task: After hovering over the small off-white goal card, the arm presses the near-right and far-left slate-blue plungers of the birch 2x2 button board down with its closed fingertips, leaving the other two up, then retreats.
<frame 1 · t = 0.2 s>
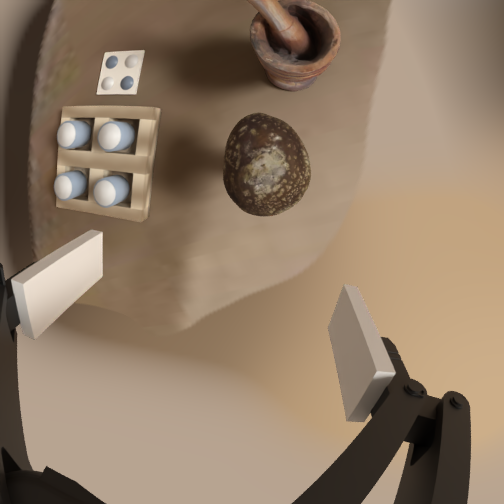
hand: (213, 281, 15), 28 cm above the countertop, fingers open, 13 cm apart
mortar and pestle: (280, 60, 35), on the countertop
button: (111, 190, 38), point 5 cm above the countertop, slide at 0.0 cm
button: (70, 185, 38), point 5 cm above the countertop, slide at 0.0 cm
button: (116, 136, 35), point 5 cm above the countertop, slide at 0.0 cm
goal card: (120, 72, 36), on the countertop
mushroom: (269, 159, 40), on the countertop
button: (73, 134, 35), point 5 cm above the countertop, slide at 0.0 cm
board: (107, 158, 41), on the countertop
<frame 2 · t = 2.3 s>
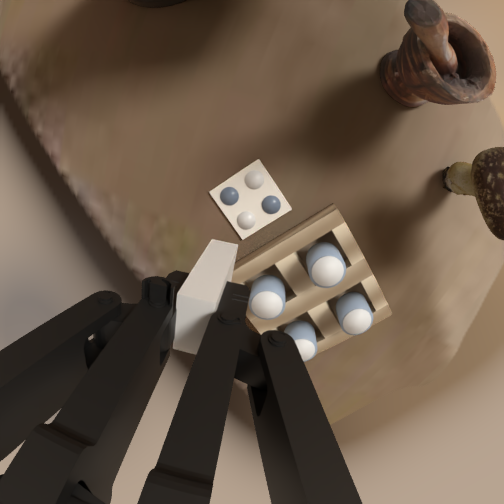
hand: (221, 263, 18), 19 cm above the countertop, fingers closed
mortar and pestle: (394, 80, 29), on the countertop
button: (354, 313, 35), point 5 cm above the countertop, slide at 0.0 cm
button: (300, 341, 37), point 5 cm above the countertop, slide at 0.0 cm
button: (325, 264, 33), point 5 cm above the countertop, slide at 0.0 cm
goal card: (250, 199, 36), on the countertop
mushroom: (450, 175, 32), on the countertop
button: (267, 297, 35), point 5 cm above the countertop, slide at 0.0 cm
board: (309, 287, 39), on the countertop
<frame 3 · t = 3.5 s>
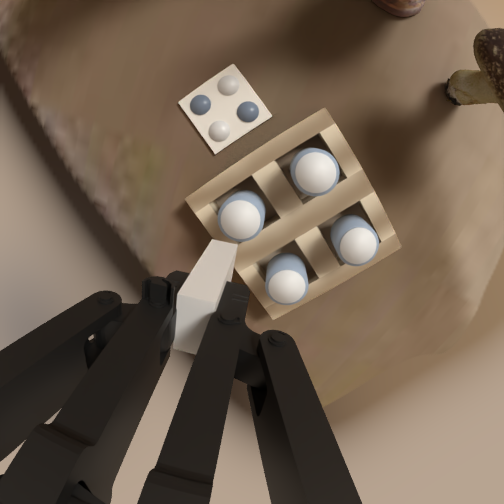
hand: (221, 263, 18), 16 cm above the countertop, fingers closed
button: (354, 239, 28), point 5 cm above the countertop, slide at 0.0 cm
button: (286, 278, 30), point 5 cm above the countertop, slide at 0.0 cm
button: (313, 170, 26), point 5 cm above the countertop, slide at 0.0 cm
goal card: (224, 108, 29), on the countertop
mushroom: (453, 90, 25), on the countertop
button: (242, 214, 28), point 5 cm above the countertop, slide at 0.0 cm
board: (297, 214, 32), on the countertop
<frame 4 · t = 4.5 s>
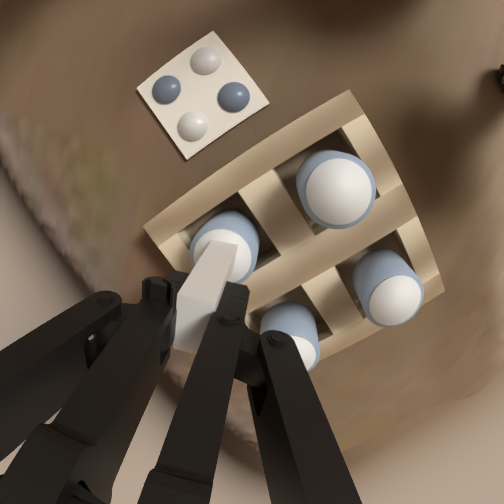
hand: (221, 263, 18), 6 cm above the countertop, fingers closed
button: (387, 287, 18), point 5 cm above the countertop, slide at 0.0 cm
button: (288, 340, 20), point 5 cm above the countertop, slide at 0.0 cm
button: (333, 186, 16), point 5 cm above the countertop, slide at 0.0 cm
goal card: (200, 93, 19), on the countertop
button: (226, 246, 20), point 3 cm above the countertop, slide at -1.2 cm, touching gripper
board: (304, 245, 23), on the countertop
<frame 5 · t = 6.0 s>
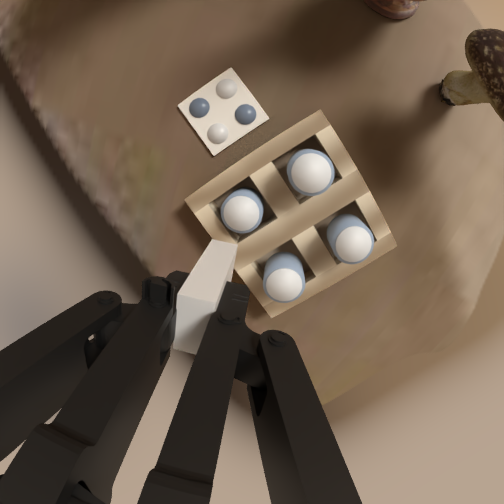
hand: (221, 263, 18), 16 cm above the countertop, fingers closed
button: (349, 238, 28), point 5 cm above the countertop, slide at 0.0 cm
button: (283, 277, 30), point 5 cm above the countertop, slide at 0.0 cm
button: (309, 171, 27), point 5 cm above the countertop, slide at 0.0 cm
goal card: (222, 111, 30), on the countertop
mushroom: (447, 91, 26), on the countertop
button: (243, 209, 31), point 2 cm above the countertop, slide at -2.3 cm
board: (294, 214, 33), on the countertop
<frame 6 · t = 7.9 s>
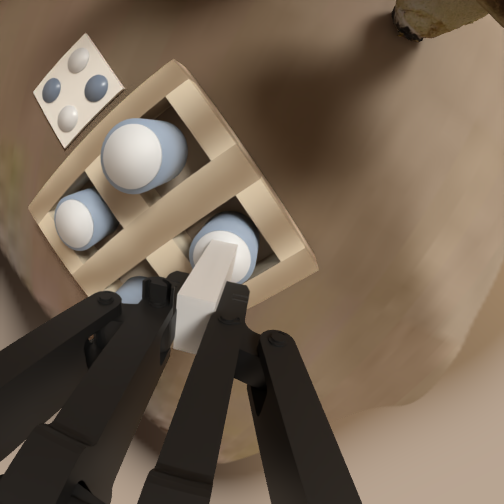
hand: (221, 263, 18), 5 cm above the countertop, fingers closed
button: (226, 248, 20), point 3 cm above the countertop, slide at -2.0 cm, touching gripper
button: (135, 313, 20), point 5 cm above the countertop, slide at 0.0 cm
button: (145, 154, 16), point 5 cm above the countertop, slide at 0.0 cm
goal card: (74, 89, 19), on the countertop
mushroom: (409, 24, 15), on the countertop
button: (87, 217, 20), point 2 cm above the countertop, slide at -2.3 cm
board: (162, 221, 22), on the countertop
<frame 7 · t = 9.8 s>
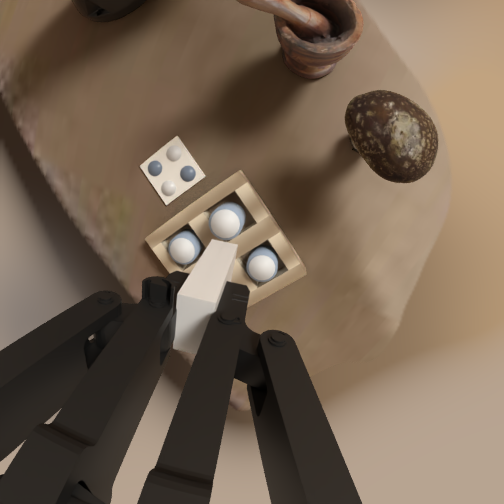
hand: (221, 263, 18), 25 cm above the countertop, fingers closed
mortar and pestle: (297, 57, 34), on the countertop
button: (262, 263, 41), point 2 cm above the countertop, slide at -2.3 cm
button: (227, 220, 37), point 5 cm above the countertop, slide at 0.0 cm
goal card: (171, 170, 40), on the countertop
mushroom: (362, 139, 37), on the countertop
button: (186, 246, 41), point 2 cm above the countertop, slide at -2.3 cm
board: (226, 249, 43), on the countertop
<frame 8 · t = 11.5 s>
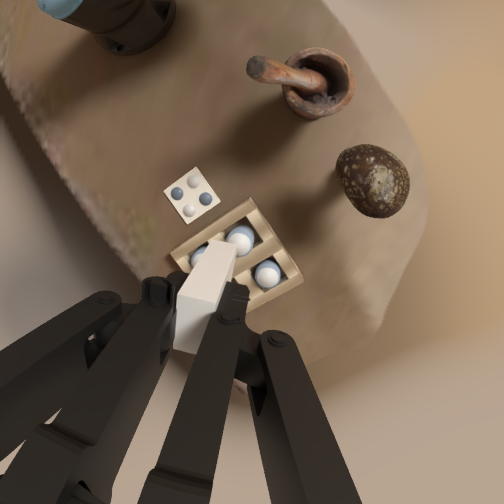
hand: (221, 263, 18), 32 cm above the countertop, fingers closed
mortar and pestle: (298, 99, 43), on the countertop
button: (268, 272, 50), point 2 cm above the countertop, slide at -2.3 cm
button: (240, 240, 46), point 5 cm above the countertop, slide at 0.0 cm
goal card: (191, 195, 49), on the countertop
mushroom: (351, 170, 46), on the countertop
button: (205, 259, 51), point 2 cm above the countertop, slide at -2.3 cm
board: (238, 260, 53), on the countertop
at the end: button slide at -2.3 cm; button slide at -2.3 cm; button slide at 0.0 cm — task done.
